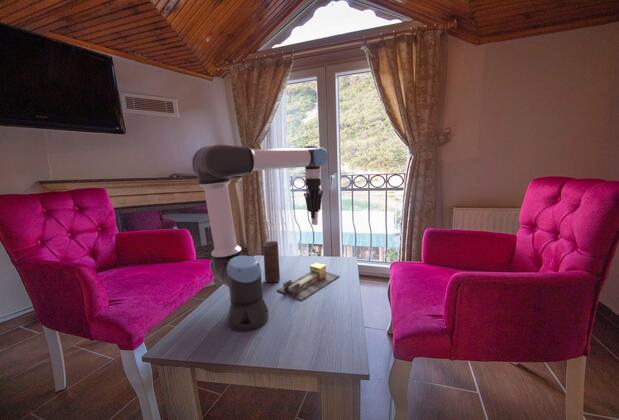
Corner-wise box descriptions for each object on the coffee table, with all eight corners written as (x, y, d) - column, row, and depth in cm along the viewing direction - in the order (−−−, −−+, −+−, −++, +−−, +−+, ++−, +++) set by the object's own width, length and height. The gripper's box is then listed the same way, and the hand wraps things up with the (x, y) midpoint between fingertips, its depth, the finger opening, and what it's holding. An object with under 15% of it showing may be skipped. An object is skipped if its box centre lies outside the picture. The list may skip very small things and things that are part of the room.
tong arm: (293, 293, 116) (292, 288, 115) (287, 290, 118) (287, 286, 118) (321, 274, 131) (321, 271, 131) (316, 273, 134) (316, 269, 133)
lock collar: (320, 280, 128) (319, 268, 127) (310, 277, 132) (309, 265, 131) (326, 277, 132) (325, 265, 131) (316, 274, 136) (316, 262, 135)
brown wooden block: (279, 284, 128) (276, 244, 124) (263, 284, 128) (261, 245, 124) (280, 277, 135) (278, 239, 132) (266, 277, 135) (264, 240, 132)
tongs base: (301, 301, 111) (300, 289, 111) (276, 291, 121) (276, 280, 120) (339, 276, 134) (339, 267, 133) (316, 270, 143) (315, 261, 142)
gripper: (310, 178, 123) (312, 228, 127) (327, 177, 133) (328, 222, 137) (298, 178, 128) (300, 226, 132) (315, 176, 138) (316, 221, 142)
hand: (314, 224), depth 134 cm, fingers closed
